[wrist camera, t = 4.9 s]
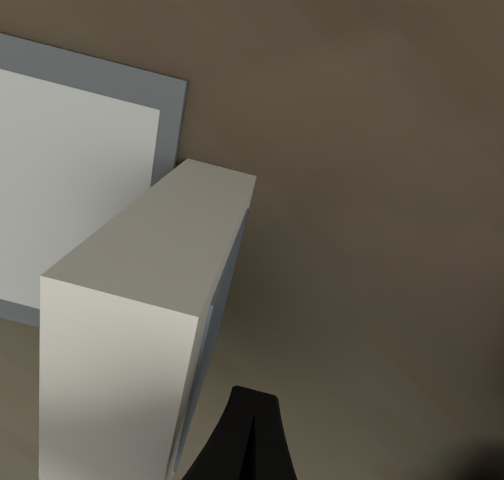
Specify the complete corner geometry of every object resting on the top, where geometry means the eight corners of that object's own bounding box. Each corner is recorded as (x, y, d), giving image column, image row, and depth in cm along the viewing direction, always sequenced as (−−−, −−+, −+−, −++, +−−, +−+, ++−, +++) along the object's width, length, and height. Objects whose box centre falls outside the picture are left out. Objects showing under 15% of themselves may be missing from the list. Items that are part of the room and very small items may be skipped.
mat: (188, 81, 18) (186, 81, 17) (147, 351, 24) (144, 357, 24) (-192, -18, 18) (-204, -20, 18) (-131, 278, 25) (-139, 281, 24)
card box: (258, 176, 19) (203, 318, 8) (222, 323, 23) (151, 553, 12) (187, 158, 19) (40, 275, 8) (163, 307, 23) (38, 523, 12)
